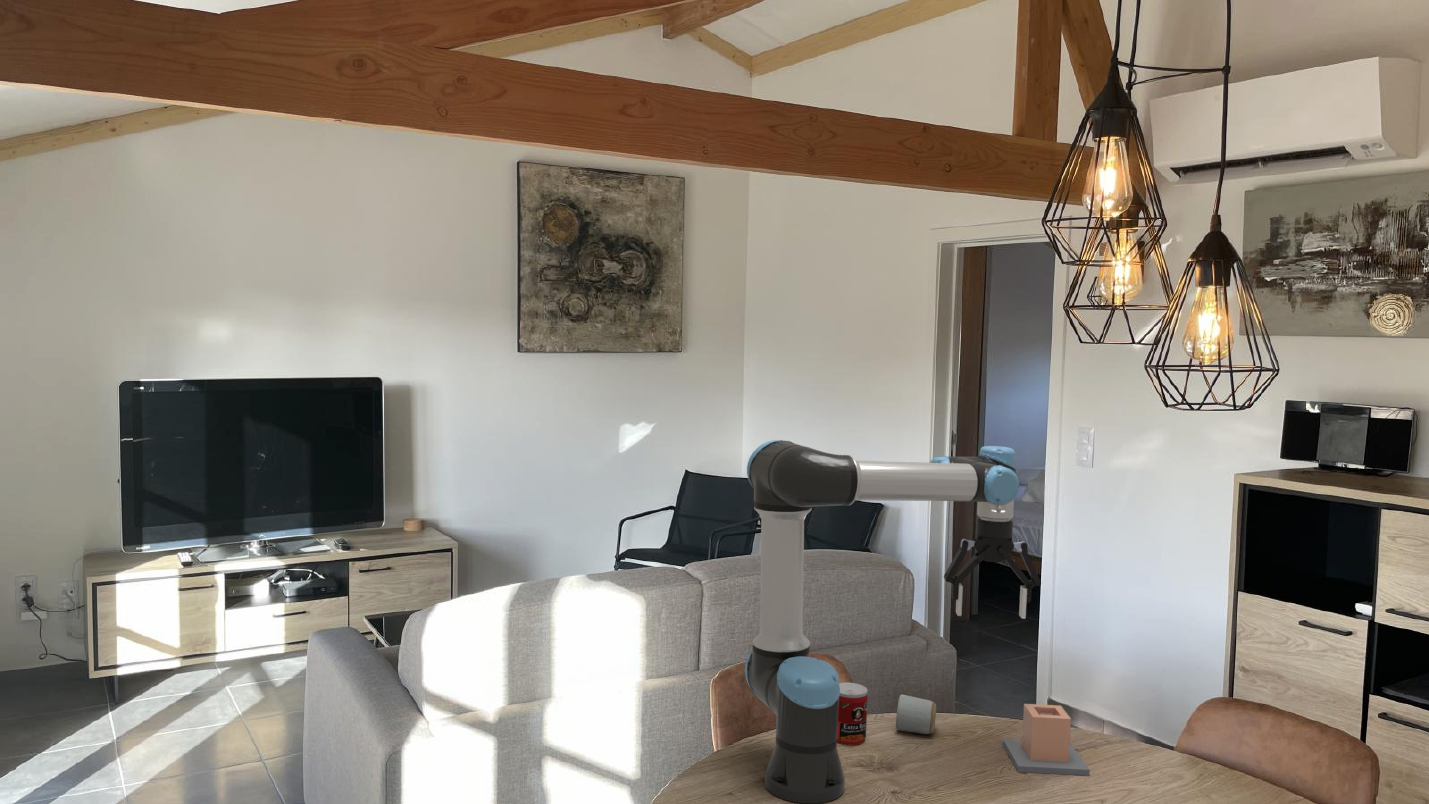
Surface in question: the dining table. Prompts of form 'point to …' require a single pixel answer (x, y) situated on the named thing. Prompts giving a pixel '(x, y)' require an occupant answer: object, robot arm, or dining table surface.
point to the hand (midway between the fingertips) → (990, 615)
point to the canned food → (852, 714)
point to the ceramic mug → (915, 715)
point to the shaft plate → (1027, 765)
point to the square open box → (1046, 733)
